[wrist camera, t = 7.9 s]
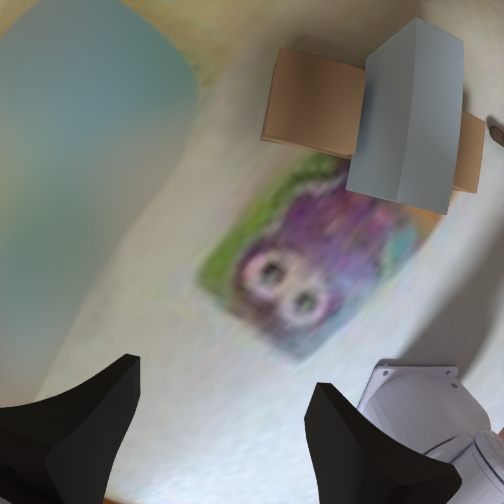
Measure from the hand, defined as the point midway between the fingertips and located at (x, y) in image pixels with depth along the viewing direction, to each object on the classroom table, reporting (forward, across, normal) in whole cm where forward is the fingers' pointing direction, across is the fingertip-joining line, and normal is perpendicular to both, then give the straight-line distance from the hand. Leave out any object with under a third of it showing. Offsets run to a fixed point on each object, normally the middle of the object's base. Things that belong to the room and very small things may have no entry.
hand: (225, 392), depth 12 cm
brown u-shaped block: (+10, -7, -13) cm, 18 cm away
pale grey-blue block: (+9, -7, -13) cm, 17 cm away
